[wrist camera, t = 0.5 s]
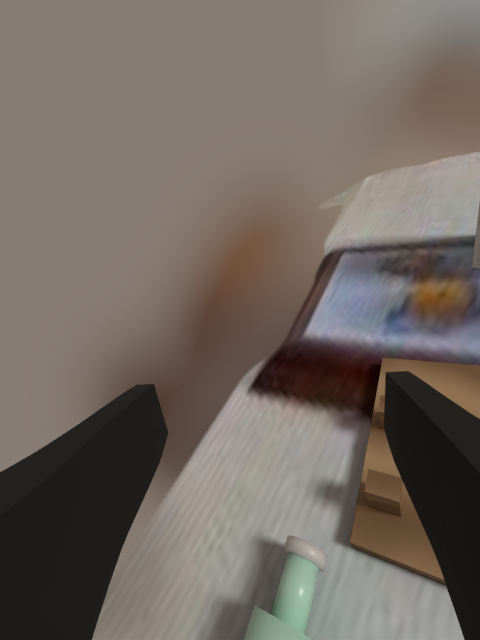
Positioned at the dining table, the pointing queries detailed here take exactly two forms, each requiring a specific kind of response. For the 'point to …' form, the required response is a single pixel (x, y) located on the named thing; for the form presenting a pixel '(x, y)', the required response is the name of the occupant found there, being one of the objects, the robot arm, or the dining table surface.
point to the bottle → (290, 595)
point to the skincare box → (477, 245)
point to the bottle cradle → (385, 481)
